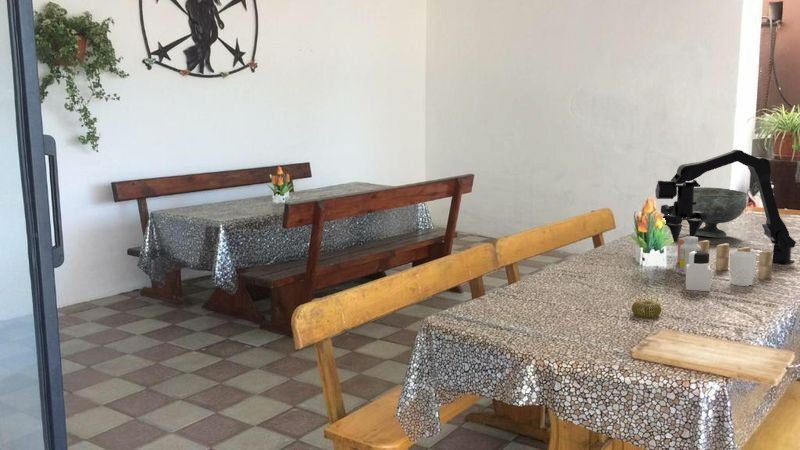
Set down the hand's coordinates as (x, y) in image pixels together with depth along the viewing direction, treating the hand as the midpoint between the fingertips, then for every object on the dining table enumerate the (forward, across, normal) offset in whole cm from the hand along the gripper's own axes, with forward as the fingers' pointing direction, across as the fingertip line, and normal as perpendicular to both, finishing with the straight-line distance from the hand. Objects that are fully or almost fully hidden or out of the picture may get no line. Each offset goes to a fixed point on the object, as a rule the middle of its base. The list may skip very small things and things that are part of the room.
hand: (683, 240), depth 275 cm
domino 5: (+8, 0, +32) cm, 33 cm away
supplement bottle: (+8, +14, +13) cm, 21 cm away
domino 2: (+8, 0, +8) cm, 11 cm away
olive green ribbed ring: (+8, +66, +37) cm, 76 cm away
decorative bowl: (+8, -53, -25) cm, 59 cm away
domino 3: (+8, 0, +16) cm, 18 cm away
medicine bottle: (+8, +29, +27) cm, 40 cm away
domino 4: (+8, 0, +24) cm, 25 cm away
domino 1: (+8, 0, 0) cm, 8 cm away
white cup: (+8, +13, +32) cm, 36 cm away
